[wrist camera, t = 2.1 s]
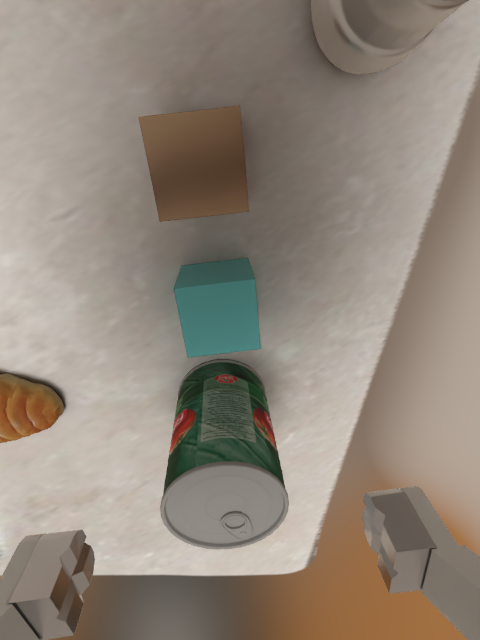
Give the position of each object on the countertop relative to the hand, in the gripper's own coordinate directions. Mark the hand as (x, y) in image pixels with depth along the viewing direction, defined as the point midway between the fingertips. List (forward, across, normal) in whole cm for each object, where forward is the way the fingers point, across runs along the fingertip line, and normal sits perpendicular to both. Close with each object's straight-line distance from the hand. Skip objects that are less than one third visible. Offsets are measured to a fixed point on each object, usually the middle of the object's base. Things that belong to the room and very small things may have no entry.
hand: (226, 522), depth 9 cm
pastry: (+18, +20, +7) cm, 28 cm away
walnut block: (+18, 0, -10) cm, 20 cm away
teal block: (+18, 0, 0) cm, 18 cm away
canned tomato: (+18, +1, +10) cm, 21 cm away
